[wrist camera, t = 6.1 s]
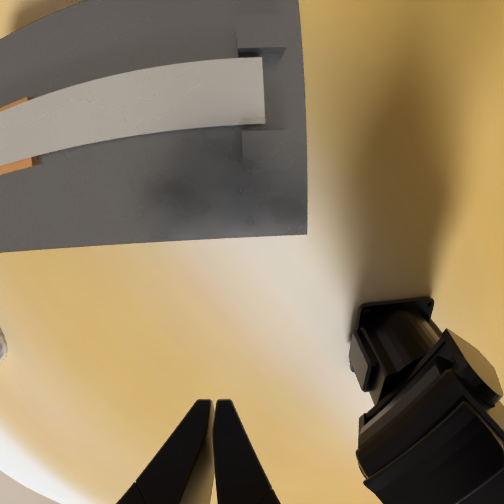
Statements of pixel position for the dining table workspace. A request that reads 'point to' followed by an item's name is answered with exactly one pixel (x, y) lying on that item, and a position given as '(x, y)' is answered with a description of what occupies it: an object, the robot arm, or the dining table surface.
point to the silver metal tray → (162, 143)
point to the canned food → (2, 347)
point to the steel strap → (136, 106)
